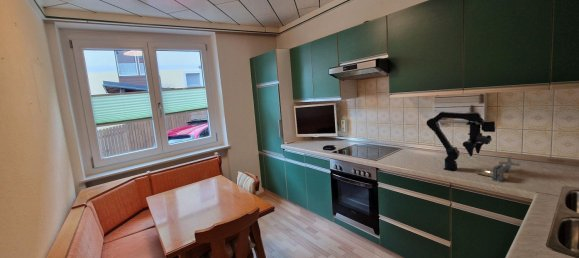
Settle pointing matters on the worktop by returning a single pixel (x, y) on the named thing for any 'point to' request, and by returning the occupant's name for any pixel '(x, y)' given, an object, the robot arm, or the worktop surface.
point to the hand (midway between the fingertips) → (474, 154)
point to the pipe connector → (509, 163)
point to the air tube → (491, 173)
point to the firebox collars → (500, 172)
